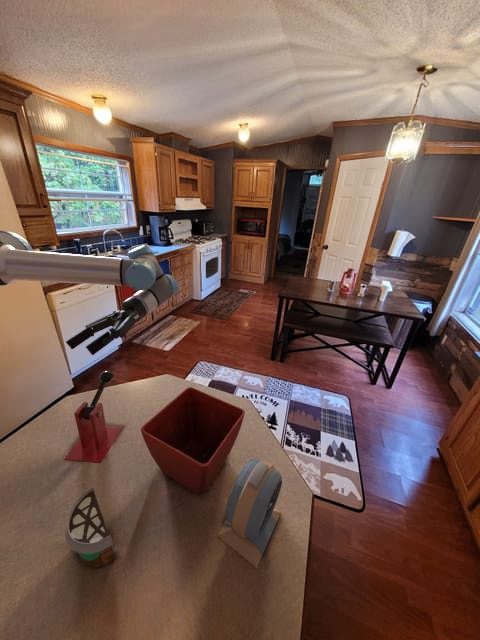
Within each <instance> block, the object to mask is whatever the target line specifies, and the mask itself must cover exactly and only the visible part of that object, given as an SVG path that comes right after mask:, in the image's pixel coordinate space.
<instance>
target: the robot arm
mask: <svg viewBox="0 0 480 640" xmlns="http://www.w3.org/2000/svg"><path fill="white" fill-rule="evenodd" d="M127 257H128V258H122V257H121V258H119V257H108V256H98V255H97V256H95V255H85V254H84V255H83V254H74V253H73V254H72V253H59V252H50V251H49V252H48V251H37V250H33V248H32V246H31V245H30V242H28V241H27V240H26V239H25V238H24V237H22V236H21V235H19V234H18V233H15V232H13V231H10V230H0V287H5V286H8V285H10V284H11V285H12V284H15V283H16V281H26V282H44V283H45V282H46V283H47V282H48V283H66V284H83V285H99V286H100V285H102V286H119V287H120V286H121V287H130V288H131V289H133V290H135V291H137V292H136V293H134V294H133V295H132V296H130V297H129V298H126V299H125V300H123V302H122V303H121V310H117V311H116V310H113V311H111V312H110V313H108V314H106V315H104V316H102V317H100V318H99V319H96V320H95V321H92V322H90V323H88V324H86V325H85V326H84V329H83V330H81V331H79V332H78V333H76V334H75V335H73V336H72V337H70V338H68V340H66V341H65V343H66V344H67V346H68V347H69V348H70V349H71V350H74V349H75V348H77V347H78V346H80V345H81V344H83V343H84V342H86V341H87V340H89V339H90V338H91V337H94V336H95V334H96V333H98V332H101V331H104V330H105V329H108V330H107V331H105V332H104V333H102V334H101V335H100V336H98V337H97V338H96V339H94V340H93V341H91V342H90V343H89V344H87V345H86V346H85V348H86V350H87V351H88V353H90V355H91V356H94V355H96V354H97V353H98V352H99V351H101V350H102V349H103V348H105V347H106V346H108V345H109V344H110V343H112V342H113V341H114V340H117V339H119V338H120V339H122V338H124V337H125V336H126V335H127V334H128V332H130V330H131V329H132V328H133V327H134V326H135V324H136V323H137V322H140V321H141V320H143V319H144V318H145V317H147V315H149V314H150V313H151V314H152V313H154V311H155V309H157V308H159V307H160V306H161V305H162V304H163V303H165V302H166V301H168V300H170V299H171V298H172V297H174V295H176V293H178V291H179V284H178V281H177V279H175V278H174V276H173V275H171V274H165V272H164V271H163V269H162V267H161V265H160V263H159V261H158V259H157V258H156V256H155V253H154V252H153V250H152V249H151V246H150V245H148V244H143V245H140V246H137V247H135V248H133V249H131V250H130V251H128V252H127Z"/></svg>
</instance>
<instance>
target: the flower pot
mask: <svg viewBox="0 0 480 640" xmlns="http://www.w3.org/2000/svg"><path fill="white" fill-rule="evenodd" d="M245 413H246V411H245V410H244V409H243V408H241V407H239V406H237V405H235V404H232V403H230V402H227V401H225V400H222V399H220V398H217V397H216V396H213V395H211V394H209V393H206V392H204V391H201V390H199V389H197V388H195V387H192V386H189V387H186V388H185V389H184V390H183V391H181V392H180V393H179V394H178V395H177V396H176V397H175V398H174V399H172V400H171V401H170V402H169V403H168V404H166V406H164V407H163V408H162V409H161V410H159V411H158V412H157V413H156V414H154V416H152V417H151V418H150V419H149V420H148V421H147V422H146V423H144V424H143V425H142V426H141V427H140V432H141V436H142V438H143V441H144V443H145V445H146V447H147V449H148V451H149V454H150V456H151V457H152V459H153V461H154V462H155V463H156V465H157V467H158V468H159V469H160V470H161V472H162V473H163V475H165V476H167V477H168V478H170V479H172V480H173V481H175V482H176V483H178V484H180V485H181V486H183V487H184V488H185V489H187V490H189V491H191V492H192V493H193V494H195V495H197V496H200V497H201V496H203V495H204V493H205V492H206V491H207V489H208V488H209V486H210V485H211V484H212V482H213V480H214V479H215V477H217V474H218V473H219V472H220V470H221V468H222V467H223V465H224V463H225V462H226V460H227V458H228V457H229V455H230V453H231V451H232V449H233V447H234V445H235V443H236V441H237V438H238V436H239V434H240V431H241V427H242V425H243V422H244V418H245ZM204 452H205V455H203V453H204Z"/></svg>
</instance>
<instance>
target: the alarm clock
mask: <svg viewBox="0 0 480 640" xmlns="http://www.w3.org/2000/svg"><path fill="white" fill-rule="evenodd" d="M282 484H283V477H282V475H281V473H280V471H279V470H277V469H276V467H275V465H273V464H272V463H270V462H268V461H266V460H265V459H263V460H261V459H258V458H255V459H253V458H252V459H250V461H248V462H247V463H246V464H245V465H244V467H242V469H241V471H240V473H239V474H238V475H237V478H236V479H235V481H234V484H233V486H232V488H231V490H230V493H229V495H228V499H227V502H226V508H225V516H226V519H225V522H224V523H223V526H222V528H220V531H219V532H218V533H217V537H218V538H219V539H220V538H221V539H220V540H221V541H223V540H224V541H225V542H226V543H227V544H226V543H225V542H224V541H223V542H224V543H225V544H226V545H228V546H229V547H230V546H231V547H232V548H233V550H234V552H236V551H237V552H238V553H237V552H236V553H237V554H238V555H239V556H241V555H242V556H243V557H244V558H243V557H242V556H241V557H242V558H243V559H245V560H246V561H247V560H248V561H249V562H248V561H247V562H248V563H249V564H250V565H252V564H253V565H254V566H255V567H254V566H253V565H252V566H253V567H254V568H255V569H258V566H259V564H260V562H261V559H262V558H263V555H264V552H265V550H266V548H267V546H268V544H269V540H270V539H271V537H272V534H273V531H274V529H275V527H276V525H277V522H278V520H279V518H280V516H281V514H282V513H281V511H280V510H278V509H277V508H275V507H276V505H277V502H278V498H279V496H280V493H281V489H282ZM231 547H230V548H231ZM232 548H231V549H232Z"/></svg>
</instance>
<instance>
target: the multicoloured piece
mask: <svg viewBox="0 0 480 640" xmlns="http://www.w3.org/2000/svg"><path fill="white" fill-rule="evenodd" d="M65 540H66V543H67V545H68V546H69V548H70V549H71V550H72V551H74V552H76V553H77V554H78V556H79V558H80V560H81V561H82V563H83V564H84V565H85V566H86V567H89V568H90V569H91V568H92V569H99V568H103V567H106V566H108V565H110V564H111V563H113V562H114V561H116V558H115V557H116V556H115V552H114V546H113V544H114V543H113V539H112V536H111V534H110V532H109V530H108V528H107V525H106V522H105V519H104V516H103V513H102V511H101V508H100V505H99V502H98V499H97V496H96V492H95V487H94V486H92V487H90V488H89V489H87V490H86V491H85V492H83V494H81V495H80V496H79V498H77V500H75V502H74V504H73V506H72V508H71V509H70V511H69V513H68V516H67V519H66V524H65Z"/></svg>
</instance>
